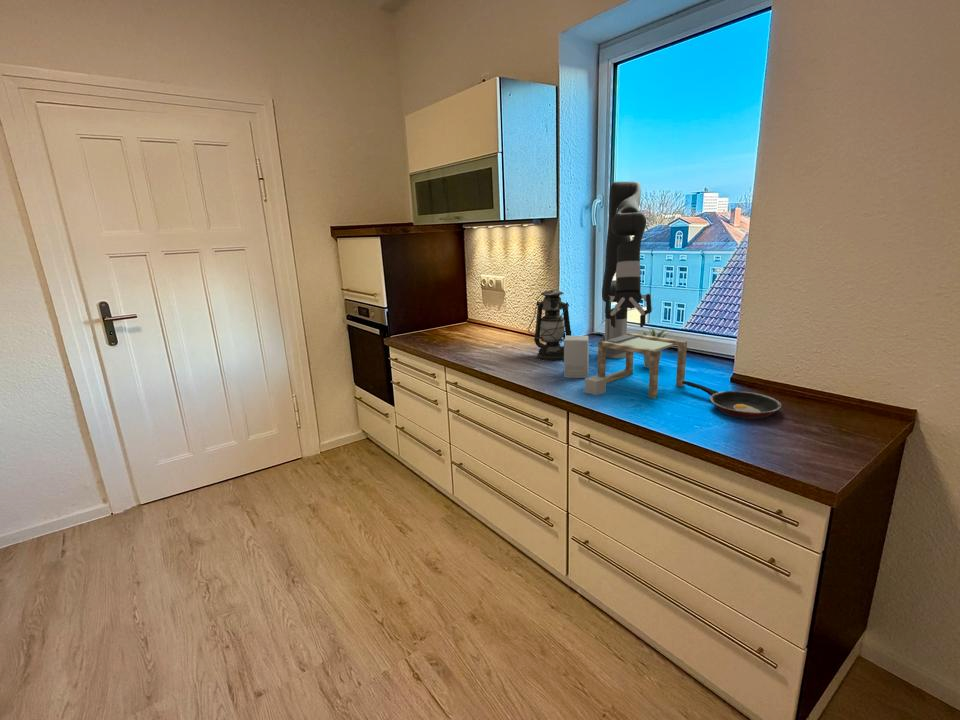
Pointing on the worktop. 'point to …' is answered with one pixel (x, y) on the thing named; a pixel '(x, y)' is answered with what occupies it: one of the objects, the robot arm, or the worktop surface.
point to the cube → (595, 385)
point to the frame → (653, 354)
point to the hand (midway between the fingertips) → (627, 327)
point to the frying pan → (741, 402)
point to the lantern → (551, 326)
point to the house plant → (647, 357)
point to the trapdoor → (636, 344)
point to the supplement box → (576, 357)
